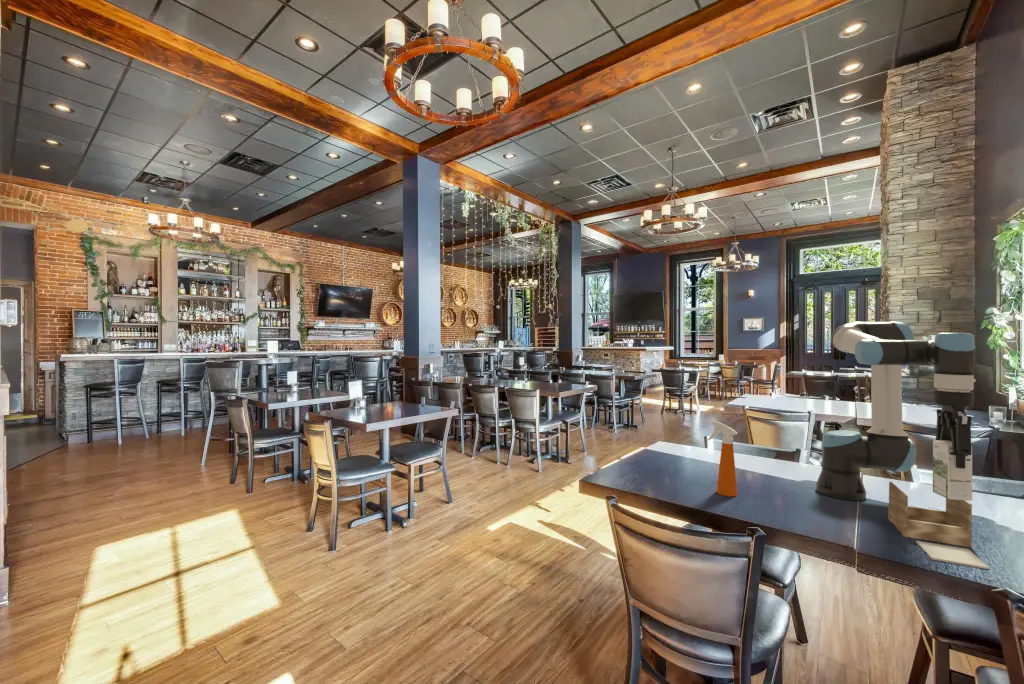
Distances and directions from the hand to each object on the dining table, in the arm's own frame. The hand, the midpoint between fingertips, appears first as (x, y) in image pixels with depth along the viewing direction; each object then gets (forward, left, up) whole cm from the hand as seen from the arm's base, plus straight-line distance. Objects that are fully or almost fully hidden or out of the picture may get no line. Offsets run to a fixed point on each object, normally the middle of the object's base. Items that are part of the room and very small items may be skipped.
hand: (952, 476), depth 118 cm
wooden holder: (0, +16, -21) cm, 27 cm away
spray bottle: (-56, +25, -21) cm, 65 cm away
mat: (0, 0, -21) cm, 21 cm away
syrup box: (0, 0, -6) cm, 6 cm away
